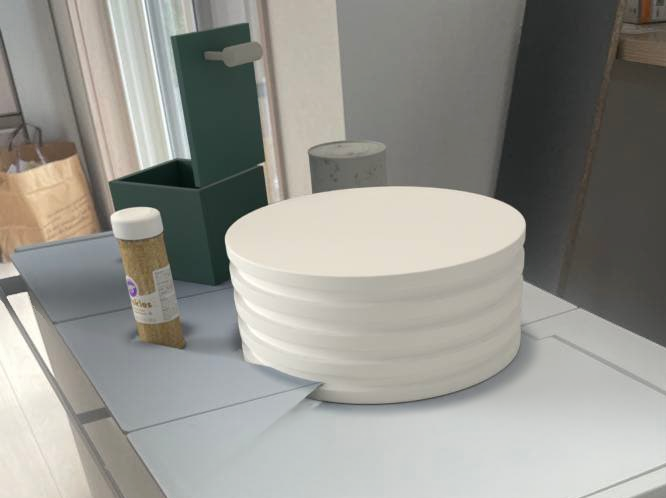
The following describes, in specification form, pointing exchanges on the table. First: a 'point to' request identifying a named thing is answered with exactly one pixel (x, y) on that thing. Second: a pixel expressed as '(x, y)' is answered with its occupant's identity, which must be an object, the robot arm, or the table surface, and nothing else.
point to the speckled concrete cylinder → (347, 165)
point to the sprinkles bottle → (148, 275)
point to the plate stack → (380, 290)
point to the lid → (219, 100)
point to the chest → (193, 213)
